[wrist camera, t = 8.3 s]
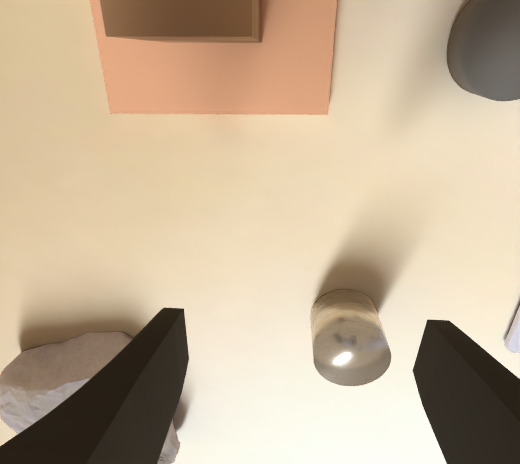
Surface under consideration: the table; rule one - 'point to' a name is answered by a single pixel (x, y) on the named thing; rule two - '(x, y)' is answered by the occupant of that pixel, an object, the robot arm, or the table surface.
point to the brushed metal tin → (348, 338)
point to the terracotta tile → (226, 67)
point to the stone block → (61, 380)
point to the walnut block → (184, 20)
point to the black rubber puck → (487, 49)
